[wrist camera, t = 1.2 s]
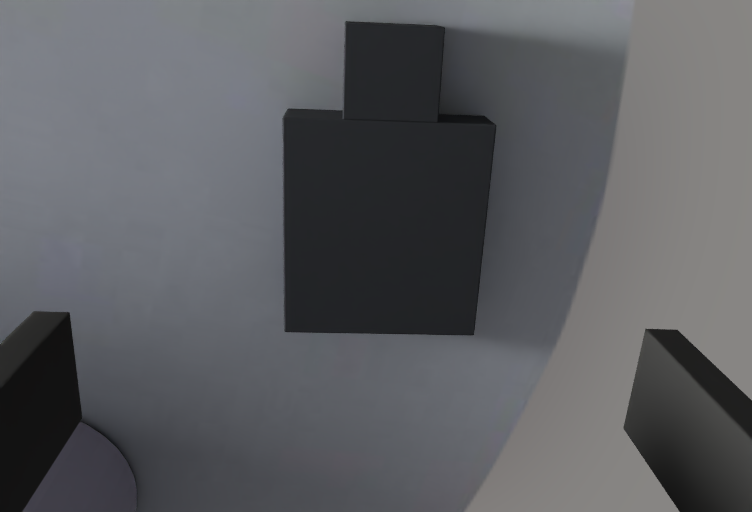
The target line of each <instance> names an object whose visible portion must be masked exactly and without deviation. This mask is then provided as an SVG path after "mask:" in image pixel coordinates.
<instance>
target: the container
mask: <svg viewBox="0 0 752 512" xmlns="http://www.w3.org/2000/svg"><path fill="white" fill-rule="evenodd" d="M136 507H137V488H136V484H135V479H134V475H133V473H132V471H131V469H130V467H129V465H128V462H127V461H126V460H125V458H124V457H123V455H122V454H121V453H120V451H119V450H118V448H117V447H115V446H114V445H113V444H112V443H111V442H110V441H109V440H108V439H107V438H106V437H105V436H103V435H102V434H100V433H99V432H97V431H96V430H94V429H93V428H91V427H90V426H88V425H86V424H84V423H82V422H79V424H78V426H77V427H76V429H75V430H74V432H73V433H72V435H71V437H70V438H69V440H68V441H67V443H66V444H65V446H64V447H63V449H62V451H61V452H60V454H59V455H58V457H57V458H56V460H55V462H54V463H53V465H52V466H51V468H50V469H49V471H48V472H47V474H46V476H45V477H44V479H43V480H42V482H41V483H40V485H39V487H38V488H37V490H36V491H35V493H34V494H33V496H32V497H31V499H30V501H29V502H28V504H27V505H26V507H25V508H24V510H23V512H135V510H136Z"/></svg>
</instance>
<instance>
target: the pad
mask: <svg viewBox="0 0 752 512" xmlns="http://www.w3.org/2000/svg"><path fill="white" fill-rule="evenodd" d="M444 34H445V27H442V26H437V25H415V24H393V23H370V22H347V21H346V22H345V44H344V86H343V111H336V110H308V109H287V111H286V113H285V115H284V116H283V119H282V120H283V238H284V331H285V332H312V333H370V334H428V335H474V330H475V320H476V311H477V302H478V292H479V283H480V274H481V264H482V255H483V246H484V236H485V227H486V217H487V208H488V199H489V189H490V180H491V171H492V161H493V152H494V143H495V133H496V125H495V124H494V123H493V122H491V121H490V120H489V119H488V118H486V117H485V116H473V115H446V114H439V101H440V87H441V74H442V61H443V47H444Z"/></svg>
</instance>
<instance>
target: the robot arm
mask: <svg viewBox="0 0 752 512" xmlns="http://www.w3.org/2000/svg"><path fill="white" fill-rule="evenodd" d="M81 419H82V412H81V404H80V396H79V387H78V379H77V371H76V362H75V354H74V346H73V337H72V329H71V321H70V312H38V311H34V312H33V313H32V314H31V315H30V316H29V317H28V318H26V319H25V320H24V321H23V322H22V323H21V324H20V325H19V326H18V327H17V328H16V329H15V330H14V331H13V332H12V333H11V334H10V335H9V336H8V337H7V338H6V339H5V340H4V341H3V342H2V343H1V344H0V512H23V510H24V508H25V507H26V505H27V504H28V502H29V501H30V499H31V497H32V496H33V494H34V493H35V491H36V490H37V488H38V487H39V485H40V483H41V482H42V480H43V479H44V477H45V476H46V474H47V472H48V471H49V469H50V468H51V466H52V465H53V463H54V462H55V460H56V458H57V457H58V455H59V454H60V452H61V451H62V449H63V447H64V446H65V444H66V443H67V441H68V440H69V438H70V437H71V435H72V433H73V432H74V430H75V429H76V427H77V426H78V424H79V422H80V421H81ZM624 430H625V431H626V433H627V434H628V436H629V437H630V439H631V440H632V442H633V443H634V445H635V446H636V447H637V449H638V451H639V452H640V454H641V455H642V456H643V458H644V459H645V461H646V462H647V464H648V465H649V467H650V468H651V470H652V471H653V473H654V474H655V476H656V477H657V479H658V480H659V482H660V483H661V484H662V486H663V487H664V489H665V491H666V492H667V494H668V495H669V496H670V498H671V499H672V501H673V502H674V504H675V505H676V507H677V508H678V510H679V511H680V512H752V400H751V399H749V398H748V397H747V396H746V395H745V394H744V393H743V392H742V391H741V390H740V389H739V388H738V387H737V386H736V385H735V384H734V383H733V382H732V381H730V380H729V379H728V378H727V377H726V376H725V375H724V374H723V373H722V372H721V371H720V370H719V369H718V368H717V367H716V366H715V365H714V364H712V362H711V361H709V360H708V359H707V358H706V357H705V356H704V355H703V354H702V353H701V352H700V351H699V350H698V349H697V348H696V347H694V346H693V344H691V343H690V342H689V341H688V340H687V339H686V338H685V337H684V336H683V335H682V334H681V333H680V332H679V331H678V330H665V329H664V330H663V329H662V330H661V329H646V330H645V334H644V338H643V343H642V348H641V352H640V356H639V361H638V365H637V370H636V374H635V379H634V383H633V388H632V392H631V397H630V401H629V406H628V410H627V415H626V419H625V424H624Z"/></svg>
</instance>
